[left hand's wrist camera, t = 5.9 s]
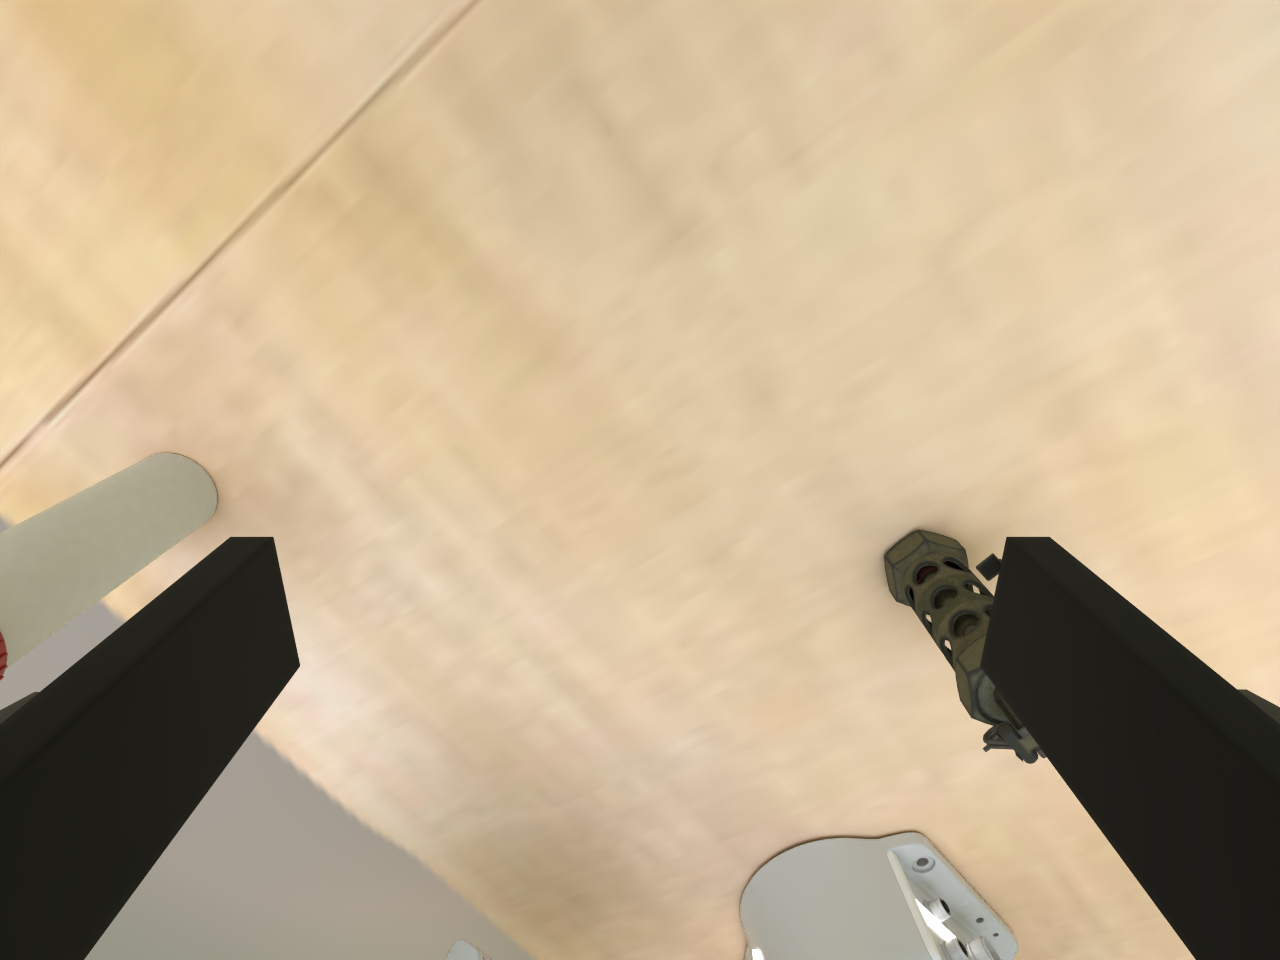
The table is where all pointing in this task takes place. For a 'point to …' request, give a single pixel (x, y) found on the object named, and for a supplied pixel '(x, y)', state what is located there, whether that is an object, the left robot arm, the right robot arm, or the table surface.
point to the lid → (2, 656)
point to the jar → (95, 544)
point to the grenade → (958, 626)
